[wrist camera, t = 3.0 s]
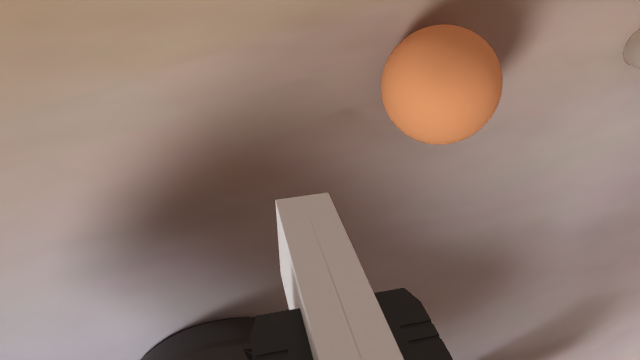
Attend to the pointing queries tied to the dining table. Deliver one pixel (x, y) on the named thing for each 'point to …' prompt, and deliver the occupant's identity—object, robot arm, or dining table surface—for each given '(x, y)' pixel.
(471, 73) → the ball
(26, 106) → the dining table surface
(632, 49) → the pin
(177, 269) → the dining table surface
